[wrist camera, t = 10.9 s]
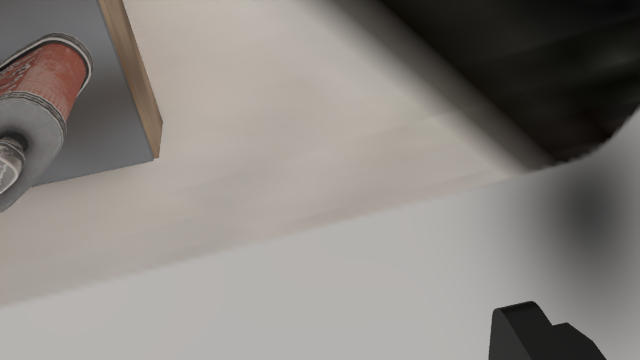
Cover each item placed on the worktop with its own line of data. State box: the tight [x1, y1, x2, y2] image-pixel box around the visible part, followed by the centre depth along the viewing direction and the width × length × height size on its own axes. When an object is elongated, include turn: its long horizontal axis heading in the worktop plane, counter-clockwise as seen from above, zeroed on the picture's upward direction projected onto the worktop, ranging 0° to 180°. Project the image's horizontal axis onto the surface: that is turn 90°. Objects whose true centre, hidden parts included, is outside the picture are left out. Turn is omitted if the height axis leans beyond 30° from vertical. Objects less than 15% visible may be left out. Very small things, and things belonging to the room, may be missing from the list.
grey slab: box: [0, 0, 163, 187], centre depth 29 cm, size 10×10×5 cm
